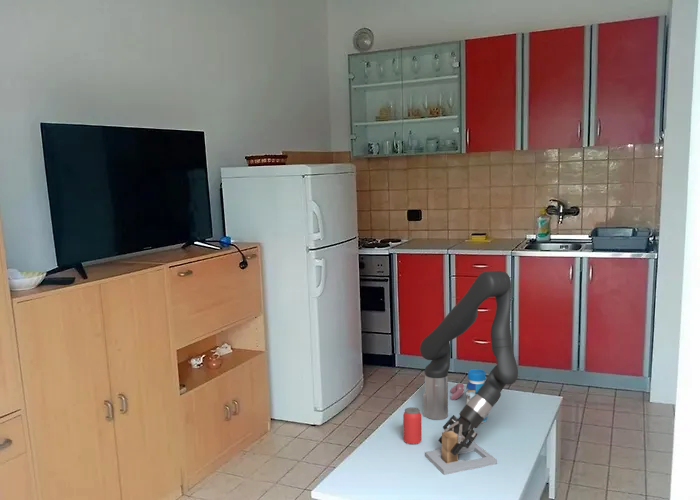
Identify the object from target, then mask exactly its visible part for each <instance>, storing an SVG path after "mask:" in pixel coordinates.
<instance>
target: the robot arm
mask: <svg viewBox="0 0 700 500" xmlns="http://www.w3.org/2000/svg"><path fill="white" fill-rule="evenodd" d="M511 280H512V279H511V277H510V275H509V274H508V273H507V272H506V271H503V270H486V271H483V272H481V273H480V274H479V275H478V276H477V277H476V279H475V280H474V281H473V283H472V285H471V286H470V287H469V289H468V290H467V292H466V293H465V294H464V295H463V297H462V298H461V299H460V300H459V301H458V302H457V303H456V304H455V306H453V308H452V309H451V310H450V311H449V313H448V314H447V315H446V316H445V317H444V318H443V319H442V321H441V322H439V324H438V325H437V327H435V328H434V329H433V331H431V332H430V333H429V334H427V335H426V337H424V338H423V339H422V340H421V342H420V346H419V352H420V355H421V356H422V358H423V359H425V360H427V361H430V362H429V363H428V364H427V365H426V366H425V368H424V392H423V394H422V395H423V396H422V397H423V400H422V401H423V405H422V406H423V408H422V411H423V417H426V418H428V419H429V420H436V421H437V420H439V421H440V420H445V419H446V418H448V416H449V375H448V374H449V370H450V368H451V344H450V343H451V342H450V341H453V340H455V339H456V338H457V337H460V336H461V335H462V334H464V333H465V332H466V331H468V330H469V328H470V327H471V326H472V325H474V323H476V322H475V321H476V320H477V318H478V309H479V307H480V306H481V305H482V304H483V303H484V302H485V301H486V300H487V299H489V298H495V301H496V302H495V304H496V305H495V306H496V307H495V308H496V309H495V313H494V316H493V320H492V323H491V328H490V343H491V351H492V354H493V356H494V357H495V361H496V365H495V366H494V367H493V368H492V369H491V371H490V372H489V374H488V376H487V378H485V381H484V382H485V383H484V384H483V386H482V387H481V388H480V389H479V390H478V392H477V393H476V394H475V395H474V396H473V397H472V398H471V399H470V400H469V402H468V403H467V404H466V403H465V405H464V407H463V408H462V409H461V411H459V413H458V414H459V417H457V416H456V415H454V414H453V415H451V417H450V418H449V419H448V420H447V422H445V424H444V425H443V426H442V428H443V432H448V431H453V432H454V433H456V434H457V435H458V443H456V444H455V446H454V447H453V448H452V449H451V451H450V452H451V453H452V454H453V455H456V454H457V453H458V452H459V451H460V450H461V448H462V447H466V448H468V447H469V446H470V445H471V443H474V441H475V439H476V437H477V436H478V435H479V434H478V433H477V431H475V430H474V429H477V428H478V427H479V426H480V425H481V424H482V423H481V422H482V421H483V420H484V419H485V417H486V416H487V417H488V415H489V413H490V412H491V410H492V409H493V407H494V406H495V405H496V404H497V402H498V401H499V399H500V398H501V396H502V394H501V392H502V390H503V389H504V388H505V387H506V385H507V386H509V385H513V384H514V383H516V382H517V380H518V377H519V369H518V365H517V360H516V358H515V357H516V356H515V354H514V351H513V350H514V349H513V347H514V346H513V340H512V332H511V311H512V310H511V308H512V307H511V306H512V304H511V303H512V302H511V301H512V300H511V299H512V282H511ZM437 441H438V442H439V443H440V444H441V445H442V435H441V436H440V437H439V438H438V440H437Z"/></svg>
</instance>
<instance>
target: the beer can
mask: <svg viewBox="0 0 700 500" xmlns="http://www.w3.org/2000/svg"><path fill="white" fill-rule="evenodd" d="M402 421H403V441H404V442H405V443H406V444H408V445H418V444H420V443H421V442H422V414H421V410H420V408H418V407H414V406H413V407H412V406H410V407H406V408H405V409H404V412H403V419H402Z"/></svg>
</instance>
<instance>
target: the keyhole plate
mask: <svg viewBox="0 0 700 500" xmlns="http://www.w3.org/2000/svg"><path fill="white" fill-rule="evenodd" d="M470 452H475V453H476V454H477V455H479V457H480V458H479V457H478V458H474V459H469V460H466V459H461V460H458V461H455V462H450V463H445V462H444V461H443V460H442V448H439V449H433V450H427V451H424V457H425V458H426V459H427V460H428V462H430V463H431V464H432V465H433V466H434V467H435V468H436V469H437V470H439V472H441V474H442V475H444V476H445V475H449V474H454V473H455V474H456V473H460V472H464V471H469V470H474V469H478V468H483V467H489V466H493V465H497V464H498V463H497V462H498V460H497V458H495V457H494V456H493V455H491V454H490V453H489V452H487V451H486V450H485V449H484V448H482V447H481V446H480V445H479V444H478V443H476V442H474V441H473V442H472V443H471V445H470V446H469V447H468V448H466V447H462V448H461V450H460V451H459V452H458V455H460V454H465V453H470Z"/></svg>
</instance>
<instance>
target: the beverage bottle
mask: <svg viewBox="0 0 700 500" xmlns="http://www.w3.org/2000/svg"><path fill="white" fill-rule="evenodd" d="M467 379H468V382H467V384H466V392H465V398H466V399H465V401H466V402H465V405H466V404H467V403H468V402H469V400H470V399H471V398H472V397H473V396H474V395H475V394H476V393H477V392H478V390H479V389H480V388H481V387H482V386H483V384H484V383H485V381H486V371H485V370H483V369H479V368H474V369H473V368H472V369H469V370H468V372H467ZM487 420H488V415H487V416H486V417H485V419H484V420H483V421H482V422H481V424H483V423H486V422H487Z"/></svg>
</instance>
